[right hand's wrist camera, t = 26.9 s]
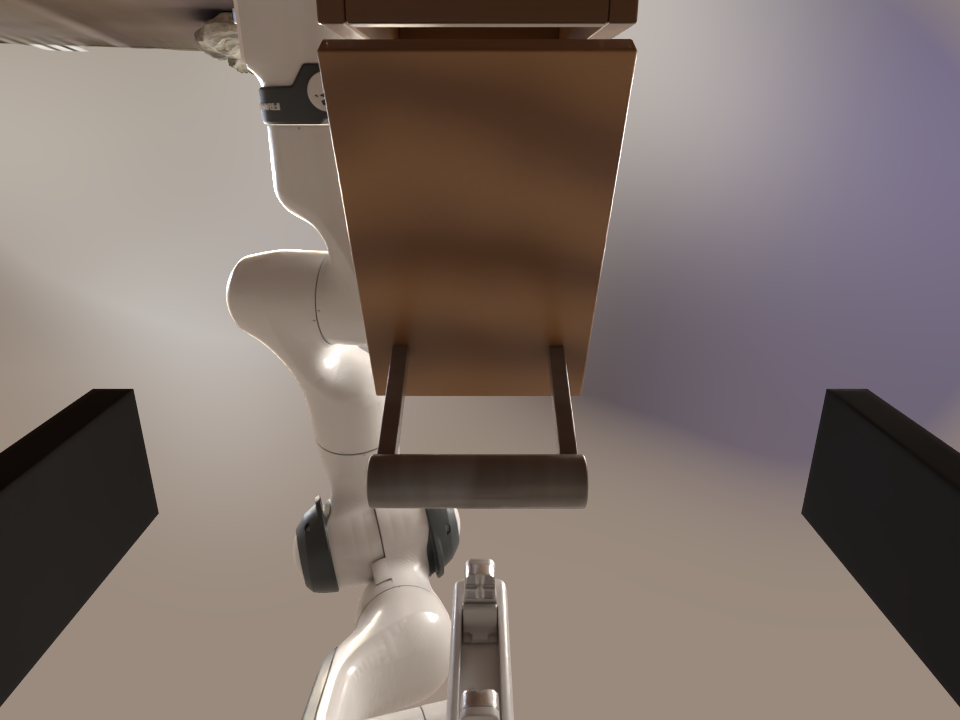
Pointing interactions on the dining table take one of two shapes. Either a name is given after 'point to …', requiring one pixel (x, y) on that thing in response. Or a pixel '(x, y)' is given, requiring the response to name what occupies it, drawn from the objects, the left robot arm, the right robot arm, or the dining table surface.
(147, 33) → the dining table surface
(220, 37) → the fossil
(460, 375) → the lid
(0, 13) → the dining table surface
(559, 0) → the chest
